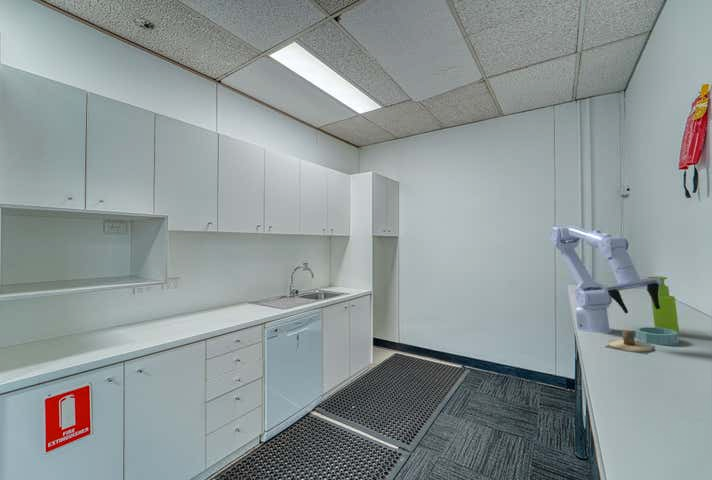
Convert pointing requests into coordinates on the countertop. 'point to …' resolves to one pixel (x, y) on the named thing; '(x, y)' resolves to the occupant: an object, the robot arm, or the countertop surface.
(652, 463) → the countertop surface
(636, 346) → the lid
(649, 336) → the bowl
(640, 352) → the mat
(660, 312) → the soap dispenser
